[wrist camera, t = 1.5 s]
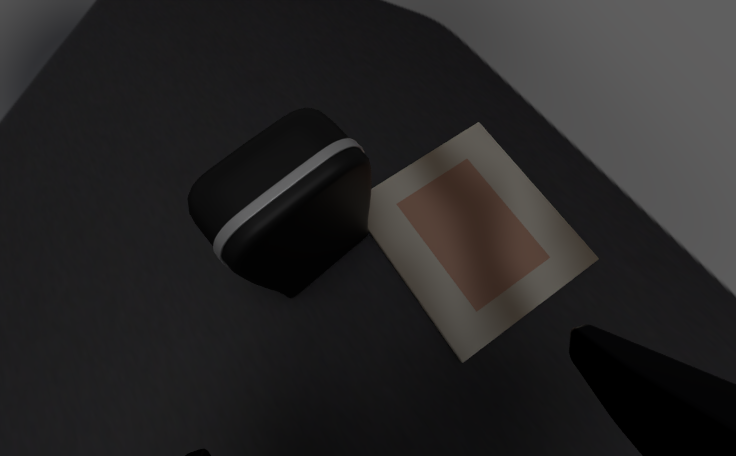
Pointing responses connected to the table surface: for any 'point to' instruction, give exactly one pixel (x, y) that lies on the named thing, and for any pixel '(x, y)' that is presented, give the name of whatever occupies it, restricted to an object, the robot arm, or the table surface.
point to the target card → (474, 239)
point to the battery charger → (286, 202)
